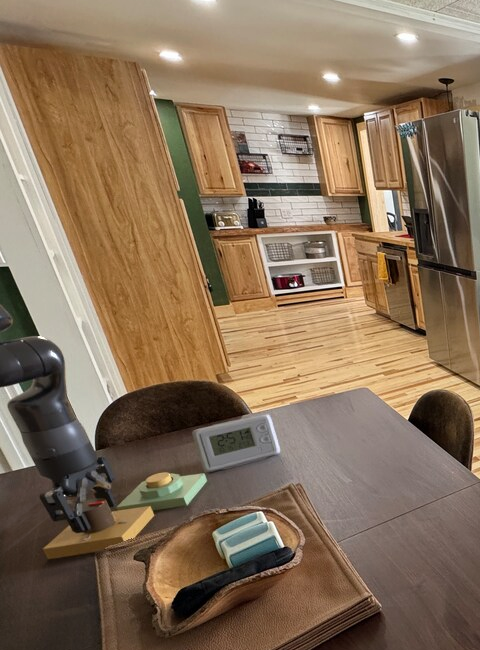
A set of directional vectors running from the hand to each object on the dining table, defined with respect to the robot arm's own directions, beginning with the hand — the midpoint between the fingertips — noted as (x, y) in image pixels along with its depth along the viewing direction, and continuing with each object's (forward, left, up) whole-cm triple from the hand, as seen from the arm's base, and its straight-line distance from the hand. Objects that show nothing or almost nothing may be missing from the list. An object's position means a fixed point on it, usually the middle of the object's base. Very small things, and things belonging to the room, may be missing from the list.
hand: (96, 518), depth 93 cm
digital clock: (+16, +25, -4) cm, 30 cm away
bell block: (+5, +12, -4) cm, 14 cm away
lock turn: (0, 0, -2) cm, 2 cm away
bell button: (+5, +12, -1) cm, 13 cm away
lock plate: (0, 0, -4) cm, 4 cm away
